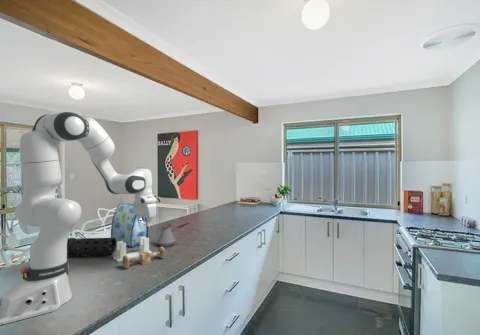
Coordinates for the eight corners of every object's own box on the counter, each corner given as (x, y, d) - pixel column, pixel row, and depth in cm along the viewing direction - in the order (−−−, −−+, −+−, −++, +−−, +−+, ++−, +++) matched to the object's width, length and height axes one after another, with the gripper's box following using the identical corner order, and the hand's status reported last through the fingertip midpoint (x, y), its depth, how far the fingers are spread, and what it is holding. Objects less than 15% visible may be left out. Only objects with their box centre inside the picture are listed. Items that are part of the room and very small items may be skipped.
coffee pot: (154, 247, 157) (154, 223, 158) (163, 242, 169) (162, 219, 169) (186, 249, 154) (185, 224, 154) (193, 243, 165) (192, 220, 165)
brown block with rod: (127, 269, 123) (127, 257, 123) (122, 266, 127) (122, 254, 127) (165, 259, 137) (165, 248, 137) (160, 256, 142) (160, 245, 142)
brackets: (118, 261, 134) (117, 244, 134) (113, 258, 139) (113, 242, 139) (152, 253, 147) (151, 237, 147) (146, 250, 152) (146, 235, 152)
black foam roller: (109, 258, 140) (109, 239, 140) (57, 259, 138) (57, 241, 138) (116, 252, 149) (116, 235, 149) (68, 253, 148) (68, 236, 148)
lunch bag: (152, 241, 170) (151, 203, 171) (131, 248, 156) (131, 206, 156) (130, 237, 181) (129, 201, 181) (108, 243, 166) (108, 204, 166)
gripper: (129, 197, 137) (130, 222, 138) (146, 200, 123) (147, 228, 123) (140, 196, 142) (141, 220, 142) (158, 199, 128) (158, 226, 128)
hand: (144, 224), depth 133 cm, fingers open, 8 cm apart
